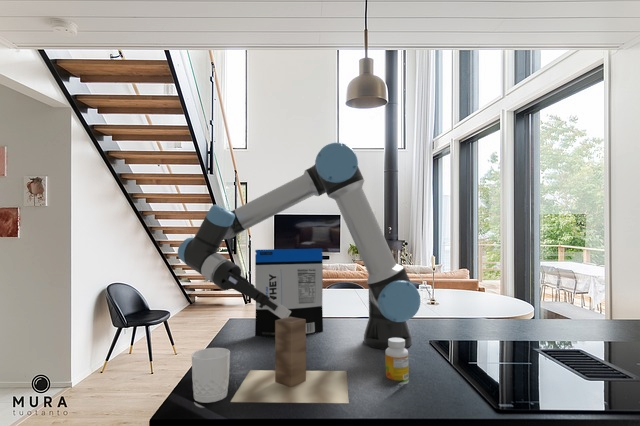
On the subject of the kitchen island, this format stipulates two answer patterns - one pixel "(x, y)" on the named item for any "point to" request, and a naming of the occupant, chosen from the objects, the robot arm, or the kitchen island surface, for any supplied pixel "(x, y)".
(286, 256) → the protein powder
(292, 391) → the board
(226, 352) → the white cup
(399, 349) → the supplement bottle
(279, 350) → the block
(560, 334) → the kitchen island surface
